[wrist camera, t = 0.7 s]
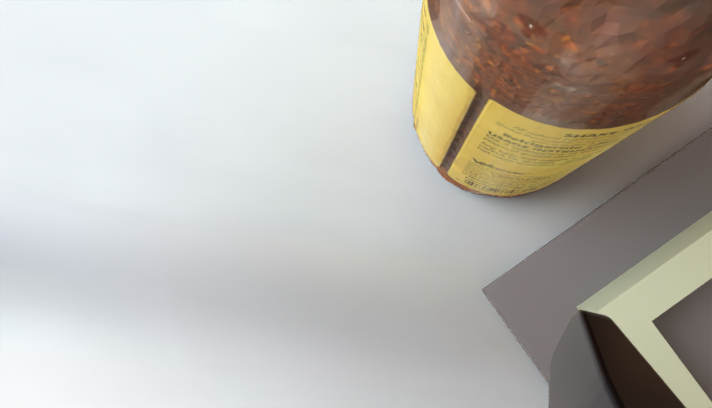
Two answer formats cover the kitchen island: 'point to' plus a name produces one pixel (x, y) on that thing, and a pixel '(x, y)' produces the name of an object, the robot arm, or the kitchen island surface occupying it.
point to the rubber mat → (617, 263)
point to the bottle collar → (660, 303)
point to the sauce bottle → (548, 82)
